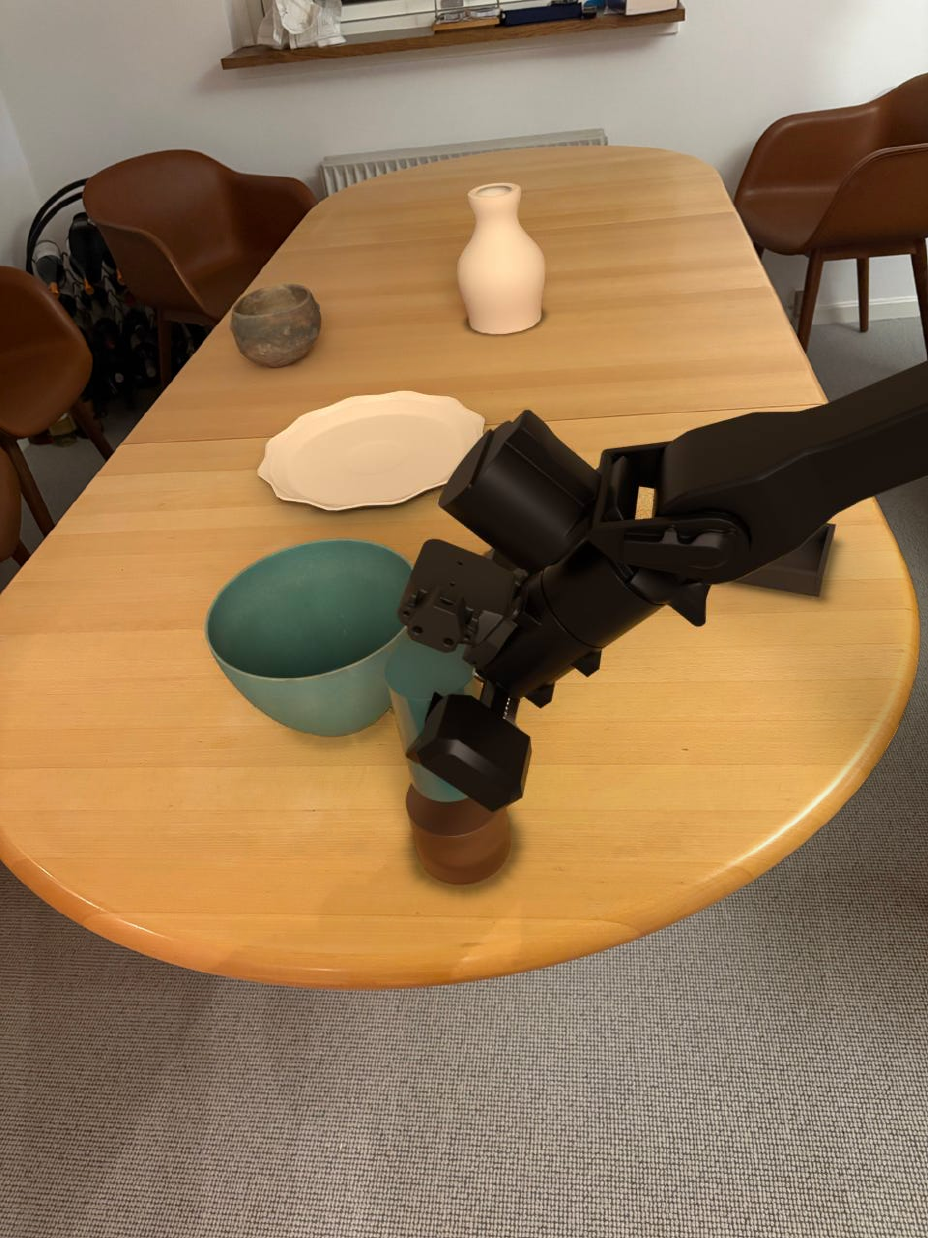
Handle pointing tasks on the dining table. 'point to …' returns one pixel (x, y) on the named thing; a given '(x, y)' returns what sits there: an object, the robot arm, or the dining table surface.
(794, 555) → the dark square tray
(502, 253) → the vase
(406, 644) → the teal cylinder
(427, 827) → the stand
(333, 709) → the teal bowl
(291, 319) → the bowl
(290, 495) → the plate
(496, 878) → the dining table surface
